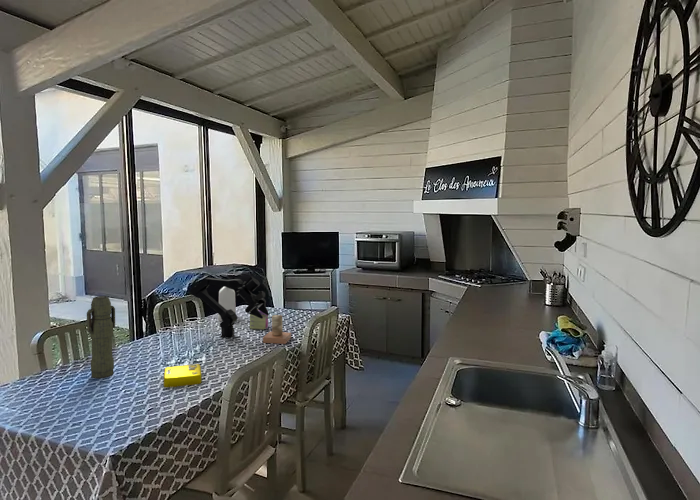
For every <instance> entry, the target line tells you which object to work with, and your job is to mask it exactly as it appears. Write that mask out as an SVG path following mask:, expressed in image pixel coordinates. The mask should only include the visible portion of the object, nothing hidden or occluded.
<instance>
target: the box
mask: <svg viewBox="0 0 700 500" xmlns="http://www.w3.org/2000/svg"><path fill="white" fill-rule="evenodd" d="M258 311H259V312H260V313H261V315H262V316H263V318H262V319H261V318H259V317H257V316H254V315H251V314H249V329H251V330H264V329H266V328H267V327H268V328H269V315H266V314H265V313H263V312H261V311H260V310H258ZM267 311H268V312H269V309H267ZM268 328H267V329H268ZM267 329H266V330H267Z"/></svg>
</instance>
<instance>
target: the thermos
mask: <svg viewBox="0 0 700 500" xmlns="http://www.w3.org/2000/svg"><path fill="white" fill-rule="evenodd" d="M111 303H112V302H111V299H110V297H109V296H107V295H99V296H98V295H97V296H94V297H93V298H92V299H91V303H90V308H89V309H88V310H87V312H86V332H87V333H89V338H90V339H91V360H90V372H91V375H90V376H91V378H92V379H98V380H99V379H100V380H101V379H106V378H110V377H112V376H113V375H114V374H115V373H114V372H115V371H114V369H115V364H114V363H115V360H114V356H113V336H114V329H115V328H116V308H115V306H114V305H112V304H111Z"/></svg>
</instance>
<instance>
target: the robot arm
mask: <svg viewBox="0 0 700 500" xmlns="http://www.w3.org/2000/svg"><path fill="white" fill-rule="evenodd" d="M260 285H261V283H260V281H259V280H258V279H257V278H255V277H254V276H250V277H249V278H248V279H247V281H246V280H245V281H244V280H242V279H240V278H234V279H222V278H213V277H205V278H203V279H202V280H201V282H199V283H198V284H196V285H194V286H192V287H191V288H190V294H191V295H192V296H194V297H195V299H196V298H197V299H200V300H202V301H203V302H204V303H205V304H206V305H208V306H209V307H210V309H212V310H213V311H214V312H216V313H217V315H218V314H219V315H220V316H221V319H222V320H223V321H220V323H219V327H220V328H221V330H220V331H221V333H220V335H221V336H219V337H220V338H226V339H227V338H230V339H231V338H232V337H234V336H235V328H234V325H235V323H236V322H237V321H238V314H237V313H235V312H233V311H232V310H231V309H230V310H226V309H225V308H224V307H223V306H221V305H220V304H219V301H217V300H216V299H215V298H213V297H212V296H211V295H210V294H209V292H208V290H207V288H209V286H213V287H214V286H217V287H228V288H230V289H233V290H234V291H235V290H236V291H235V297H238V296H240V297H241V298H242V299H243V302H244V304H247V305H248V306H247V307H245V309H244V312H245V313H246V314H248V315H250V314H251V315H254V316H257V317H259V318H261V319H262V318H263V316H262V315H261V313H260V312H259V311H258V310H260V311H261V312H263V313H265V314H266V315H268V316H269V315H270V313H269V310H268V309H267V306H266V303H267V300H266V299H265V298H266V292H265V291H263V290H261V291H258V294H255V293H252V292H254V291H255V290H256V289H257V288H258V287H259V286H260ZM267 310H268V311H267Z"/></svg>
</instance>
